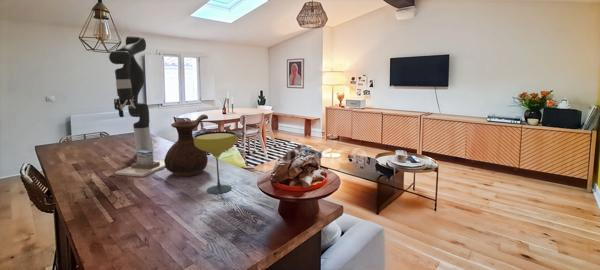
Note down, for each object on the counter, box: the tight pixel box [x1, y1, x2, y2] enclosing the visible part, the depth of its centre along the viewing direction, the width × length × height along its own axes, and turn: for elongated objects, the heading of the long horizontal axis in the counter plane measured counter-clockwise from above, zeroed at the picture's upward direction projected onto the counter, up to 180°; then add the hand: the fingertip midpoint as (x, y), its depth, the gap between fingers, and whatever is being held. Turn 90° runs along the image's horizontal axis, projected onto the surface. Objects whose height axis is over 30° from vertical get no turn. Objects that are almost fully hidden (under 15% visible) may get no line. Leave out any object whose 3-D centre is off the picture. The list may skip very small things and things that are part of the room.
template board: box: [114, 159, 166, 177], centre depth 179 cm, size 24×18×3 cm
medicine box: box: [136, 150, 154, 165], centre depth 178 cm, size 8×4×9 cm, turn 65°
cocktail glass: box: [193, 130, 238, 195], centre depth 143 cm, size 18×18×25 cm
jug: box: [163, 114, 209, 178], centre depth 167 cm, size 22×22×30 cm
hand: (127, 115), depth 186 cm, fingers open, 8 cm apart
